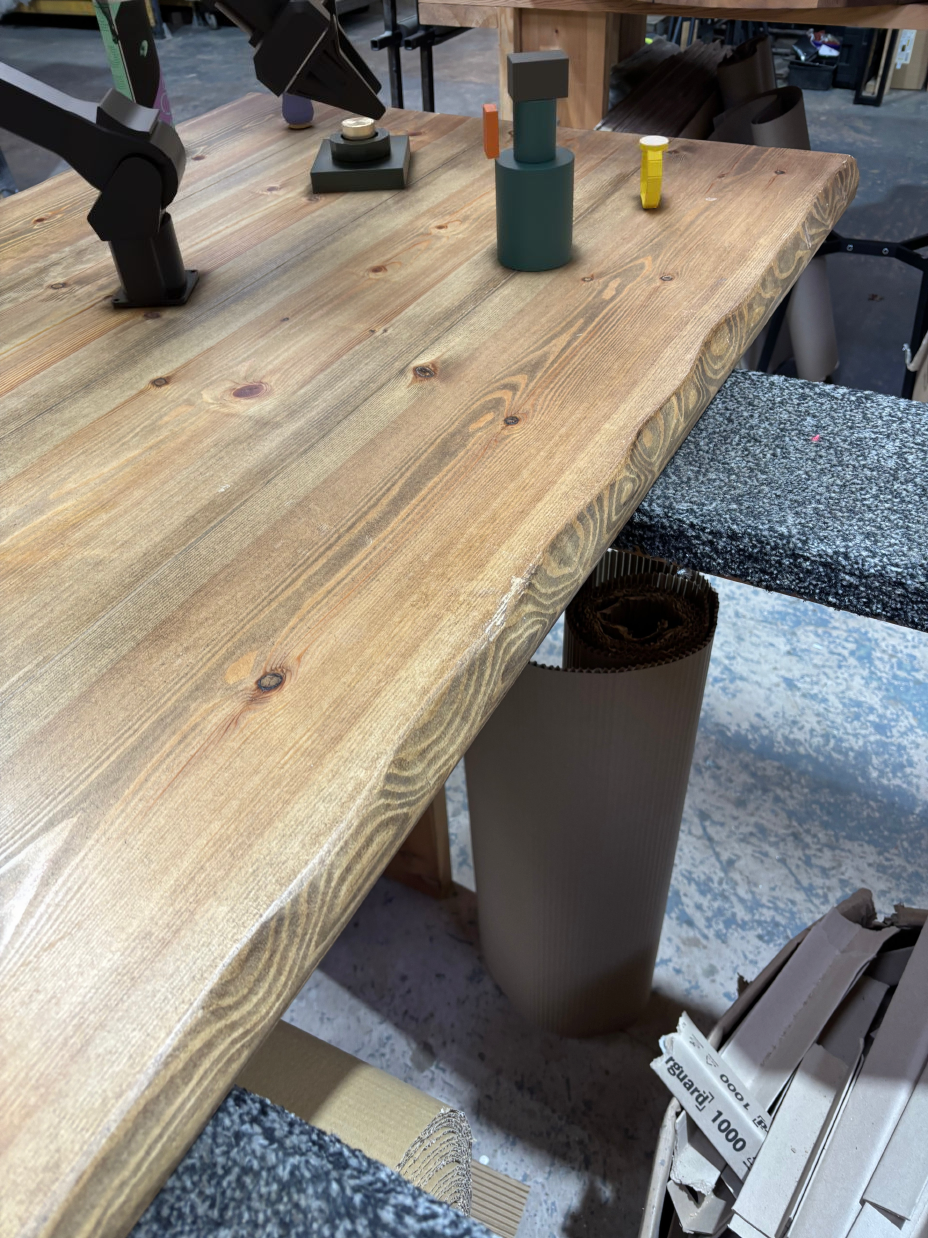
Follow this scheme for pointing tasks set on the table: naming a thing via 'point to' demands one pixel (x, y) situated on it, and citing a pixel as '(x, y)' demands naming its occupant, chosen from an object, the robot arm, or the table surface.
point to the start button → (358, 129)
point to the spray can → (133, 54)
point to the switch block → (361, 163)
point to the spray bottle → (535, 168)
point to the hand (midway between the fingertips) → (380, 102)
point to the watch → (651, 169)
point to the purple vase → (297, 111)
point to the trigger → (491, 131)
